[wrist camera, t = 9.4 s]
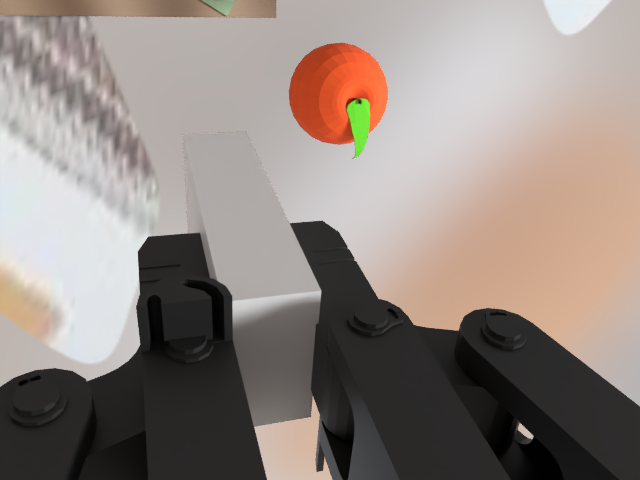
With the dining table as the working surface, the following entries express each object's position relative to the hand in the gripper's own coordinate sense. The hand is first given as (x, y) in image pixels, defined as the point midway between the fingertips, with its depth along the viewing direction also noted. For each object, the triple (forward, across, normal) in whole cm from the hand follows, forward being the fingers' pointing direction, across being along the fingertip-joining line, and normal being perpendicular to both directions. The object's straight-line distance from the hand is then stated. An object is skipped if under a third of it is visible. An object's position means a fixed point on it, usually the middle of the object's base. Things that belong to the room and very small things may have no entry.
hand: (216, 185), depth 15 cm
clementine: (+30, +12, -8) cm, 33 cm away
